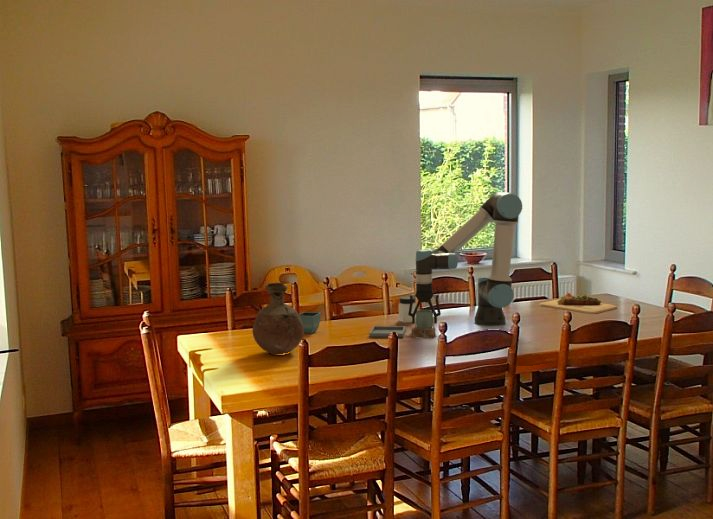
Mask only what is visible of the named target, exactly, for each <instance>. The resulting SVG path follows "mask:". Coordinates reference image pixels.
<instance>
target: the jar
mask: <svg viewBox="0 0 713 519" xmlns="http://www.w3.org/2000/svg"><path fill="white" fill-rule="evenodd" d="M398 300H399V302H398V321H399V322H401V323H412V316H409V315H408V313H409V306H410V295H409V296H408V295H407V296H406V295H405V296H400V297H399V299H398ZM416 305H417V302H416V297H415V298H414V299H413V305H412V312H411V313H413V312H414V310H415V307H416ZM415 316H416V314H415Z"/></svg>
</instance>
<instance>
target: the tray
mask: <svg viewBox="0 0 713 519" xmlns="http://www.w3.org/2000/svg"><path fill="white" fill-rule="evenodd" d="M406 331H407V327H406V326H405V325H403V326H402V325H399V326H398V325H396V326H395V325H394V326H393V325H373V326H372V328H371V329H370V331H369V333H368V337H369V338H373V339H374V338H376V339H377V338H383V339H384V338H386V339H387V338H388V336H389V334H390V333H391V332H396V333H397V334H398V337H399V338H398V339H401V338H402V339H403V338H404V337H405V333H406Z"/></svg>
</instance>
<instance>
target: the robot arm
mask: <svg viewBox="0 0 713 519" xmlns="http://www.w3.org/2000/svg"><path fill="white" fill-rule="evenodd" d="M522 210H523V202H522V200H521V198H520V197H519V196H518V195H517V194H515V193H512V192H506V191H505V192H504V191H499V192H495V193H494V194H492V195H490V197H489V198H488V199H487V200H486V201H485V202H484V203H482V205H481V206H479V208H478V211H477V212H476V213H475V214H474V215H473V216H472V217H471V218H469V219H468V220H467V221H466V222H465V223H463V225H462V226H461V227H459V229H457V230H456V231H455V232H454V233H453V234H452V235H450V237H449V238H447V240H445V241H444V242H443V243H442V244H441V245H440V246H439V247H438V248H437V249H436V248H435V249H434V250H431V249H418V250H416V252H415V282H416V283H415V294H414V293H413V294H409V296H410V306H409V313H408V315H409V316H412V322H411V323H412V324H413V325H414V328H415V327H417V323H416V316H415V314H416V312H417V310H419V307H420V304H421V303H426V304H427V303H428V305H429V308H430V310H432V312H433V326H432V328H435V329H436V326H435V325H437V324H438V323H437V322H438V317H440V316H441V308H440V303H439V299H440V298H439V296H440V295H439V294H434V293H433V283H432V282H433V270H434V271H437V270H455V269H457V267H458V264H459V263H458V262H459V260H458V255H457V254H456V253H458V252H459V250H461V249H462V248H464V246H465V245H467V243H469V242H470V241H471V240H472V239H473V238H474V237H475V236H476V235H477V234H478V233H479V232H481V231H482V230H483V229H484V228H485V227H486V226H487V225H488V224H489V223H494V224H495V229H494V235H493V238H494V239H493V248H492V257H491V258H492V259H491V271H490V275H488V276H479V277H478V280H477V310H476V312H475V315H474V323H475V324H477V325H481V326H500V325H504V324H506V315H505V313H504V310H503V309H504V308H506V307H508V306H509V305H511V303H512V301H513V300H514V295H515V292H514V290H513V289H512V286H513V285H512V284H513V279H512V277H510V272H511V271H510V269H511V260H512V252H513V251H512V250H513V241H514V228H515V225H517V223H519V222H518V221H519V216H520V215H521V213H522ZM414 298H415V299H417V302H416V307H415V310H414V312H413V313H411V312H412V305H413V299H414ZM432 298H433V299H434V300H435V305H436V310H437V312H436V310H435V306H434V305H433V303H432V301H431V300H432Z"/></svg>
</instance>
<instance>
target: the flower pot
mask: <svg viewBox="0 0 713 519" xmlns="http://www.w3.org/2000/svg"><path fill="white" fill-rule="evenodd" d="M298 315H299V316H300V318H301V320H302V323H303V334H314V333H316V332H317V331H318V329H319V326H320V323H321V312H314V311H313V312H310V311H309V312H308V311H304V312H301V313H298Z"/></svg>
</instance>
